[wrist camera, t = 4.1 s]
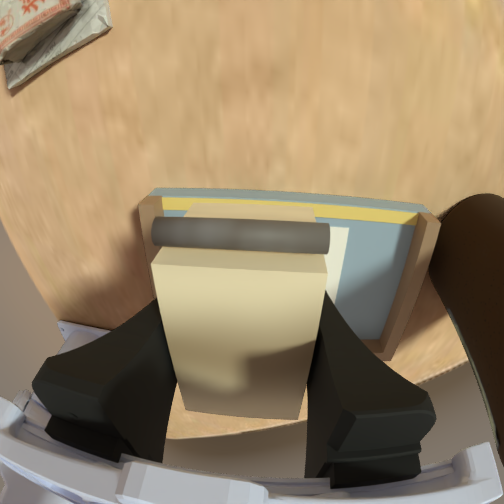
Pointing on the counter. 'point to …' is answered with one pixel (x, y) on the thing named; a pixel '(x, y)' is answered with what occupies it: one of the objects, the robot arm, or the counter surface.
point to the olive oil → (476, 293)
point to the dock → (339, 252)
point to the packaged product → (46, 32)
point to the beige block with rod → (241, 304)
